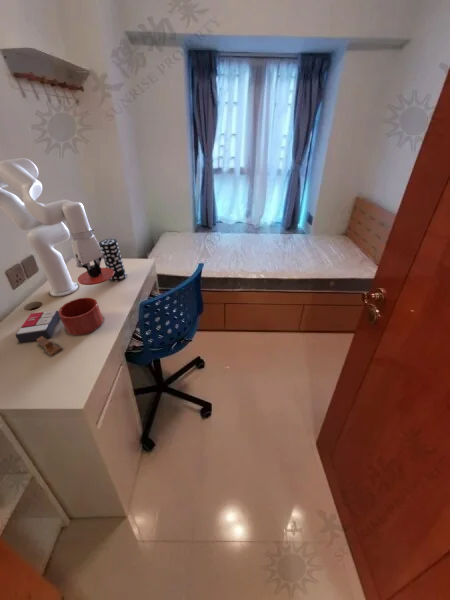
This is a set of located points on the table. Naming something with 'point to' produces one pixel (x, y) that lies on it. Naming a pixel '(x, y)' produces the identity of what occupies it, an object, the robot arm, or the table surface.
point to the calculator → (38, 326)
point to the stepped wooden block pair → (48, 346)
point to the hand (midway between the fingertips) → (95, 274)
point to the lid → (96, 276)
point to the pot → (81, 316)
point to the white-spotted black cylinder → (113, 258)
